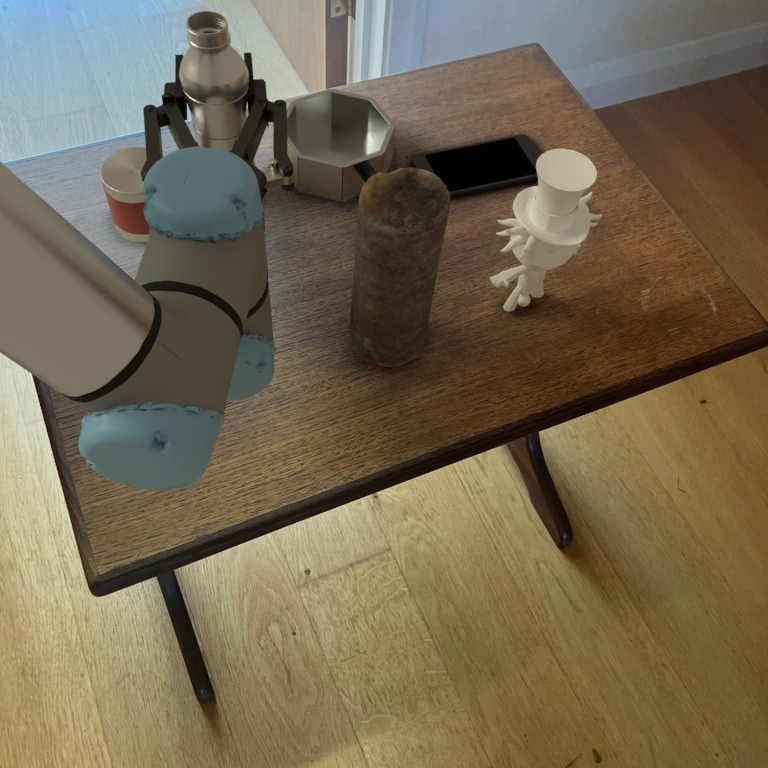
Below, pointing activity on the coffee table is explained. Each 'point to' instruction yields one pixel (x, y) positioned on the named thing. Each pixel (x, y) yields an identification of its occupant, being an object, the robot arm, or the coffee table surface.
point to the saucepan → (337, 143)
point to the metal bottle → (214, 82)
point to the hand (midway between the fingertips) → (215, 65)
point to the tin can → (126, 192)
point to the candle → (396, 263)
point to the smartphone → (482, 164)
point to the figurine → (547, 222)
